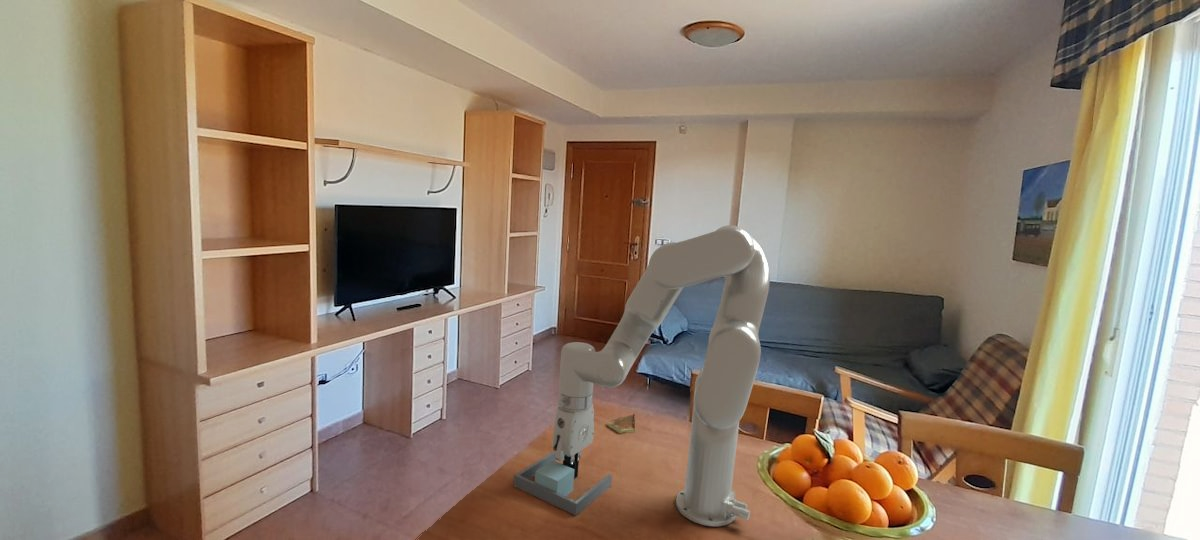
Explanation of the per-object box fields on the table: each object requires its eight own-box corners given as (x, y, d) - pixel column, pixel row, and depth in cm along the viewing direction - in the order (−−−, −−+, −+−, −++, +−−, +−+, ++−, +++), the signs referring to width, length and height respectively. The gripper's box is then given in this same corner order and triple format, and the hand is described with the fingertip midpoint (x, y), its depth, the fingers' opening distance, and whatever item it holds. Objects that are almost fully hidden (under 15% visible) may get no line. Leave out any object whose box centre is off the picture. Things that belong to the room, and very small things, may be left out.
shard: (634, 418, 150) (634, 412, 150) (651, 428, 144) (652, 422, 144) (605, 426, 143) (606, 420, 143) (623, 437, 137) (623, 431, 137)
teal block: (573, 490, 110) (574, 469, 109) (556, 503, 105) (557, 481, 104) (551, 480, 113) (552, 460, 112) (534, 492, 108) (535, 471, 107)
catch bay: (611, 485, 113) (612, 475, 112) (575, 515, 101) (576, 504, 101) (552, 460, 122) (553, 451, 121) (513, 486, 110) (514, 475, 110)
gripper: (569, 414, 102) (563, 498, 105) (607, 393, 115) (601, 468, 118) (540, 404, 106) (535, 485, 109) (580, 385, 119) (575, 458, 122)
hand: (569, 476), depth 113 cm, fingers closed
